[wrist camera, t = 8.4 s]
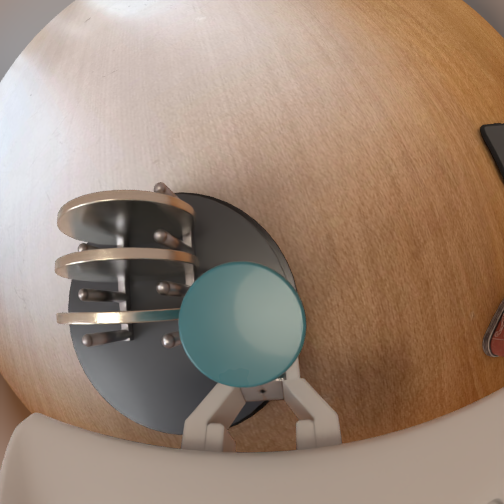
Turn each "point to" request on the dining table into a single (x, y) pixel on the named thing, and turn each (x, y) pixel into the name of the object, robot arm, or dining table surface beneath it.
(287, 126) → the dining table surface
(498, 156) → the smartphone
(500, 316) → the lighter
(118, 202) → the dish rack
